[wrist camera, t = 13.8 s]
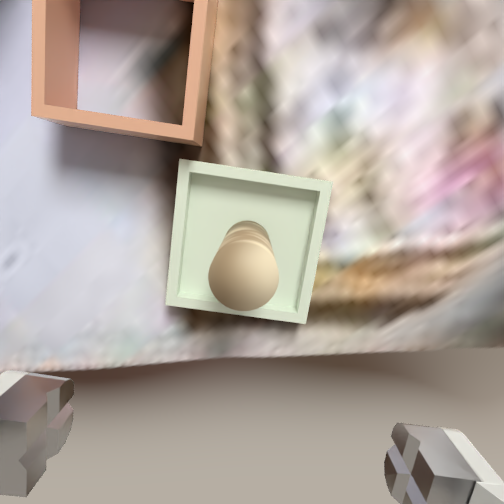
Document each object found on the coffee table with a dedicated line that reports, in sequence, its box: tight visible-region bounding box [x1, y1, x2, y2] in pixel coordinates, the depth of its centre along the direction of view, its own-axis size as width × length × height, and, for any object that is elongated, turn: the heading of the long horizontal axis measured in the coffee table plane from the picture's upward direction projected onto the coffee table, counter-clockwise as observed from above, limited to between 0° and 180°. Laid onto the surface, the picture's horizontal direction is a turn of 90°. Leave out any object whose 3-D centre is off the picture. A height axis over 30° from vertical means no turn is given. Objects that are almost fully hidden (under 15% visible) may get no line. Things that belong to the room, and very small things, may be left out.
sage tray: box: [165, 159, 333, 324], centre depth 33 cm, size 14×14×2 cm
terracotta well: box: [31, 0, 218, 147], centre depth 28 cm, size 13×13×5 cm
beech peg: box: [208, 220, 279, 311], centre depth 27 cm, size 4×4×12 cm
